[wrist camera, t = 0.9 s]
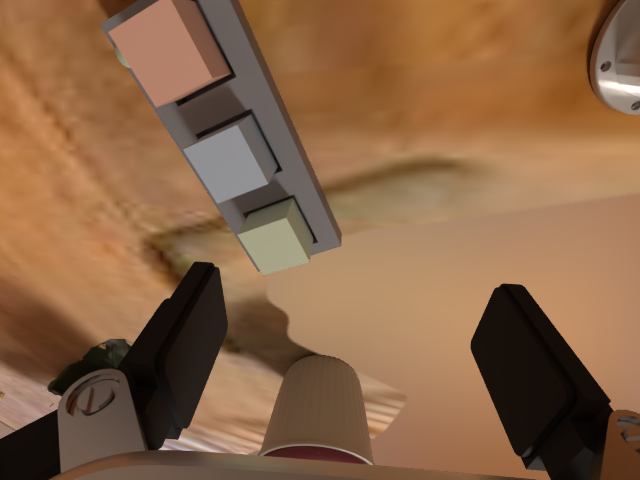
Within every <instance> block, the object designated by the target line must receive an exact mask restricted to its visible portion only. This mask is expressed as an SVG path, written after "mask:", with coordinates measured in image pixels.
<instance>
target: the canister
mask: <svg viewBox="0 0 640 480" xmlns="http://www.w3.org/2000/svg"><path fill="white" fill-rule="evenodd" d="M257 456H270V457H282V458H295V459H307V460H320V461H332V462H343V463H355V464H367V465H375V464H374V462H373V456H372V449H371V443H370V437H369V431H368V424H367V418H366V412H365V406H364V401H363V396H362V391H361V386H360V382H359V379H358V377H357V374H356V373H355V371H354V370H353V369H352V367H350V366H349V365H348V364H347V363H345V362H344V361H342V360H340V359H337V358H335V357H331V356H325V355H313V356H308V357H304V358H302V359H299V360H298V361H296V362H295V363H294V364H293V365H292V366H291V367H290V368H289V369H288V371H287V372H286V374H285V377H284V379H283V382H282V384H281V387H280V390H279V393H278V396H277V399H276V402H275V405H274V409H273V412H272V415H271V418H270V422H269V425H268V428H267V431H266V434H265V438H264V441H263V444H262V448H261V451H260V452H259V453H258V454H257Z"/></svg>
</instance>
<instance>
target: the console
mask: <svg viewBox="0 0 640 480" xmlns="http://www.w3.org/2000/svg"><path fill="white" fill-rule="evenodd" d="M157 1H159V0H137V1H136V2H134V3H133V4H131V5H130V6H128V7H127V8H125V9H123V10H122V11H120V12H119V13H117V14H116V15H114V16H113V17H111V18H109V19H108V20H106V21H105V22H103V23H102V24H100V26H101V28H102V29H103V31H104V32H105V34H106V35H107V37H108V38H109V40H110V42H111V43H112V45H113V46H114V48H115V53H116V56H117V58H118V60H119V61H120V62H121V63H122V64H123V65H124V66H126V67H127V68H128V70H129V71H130V73H131V74H132V76H133V77H134V79H135V80H136V82H137V84H138V85H139V87H140V88H141V90H142V91H143V93H144V94H145V96H146V98H147V99H148V101H149V102H150V104H151V105H152V107H153V108H154V110H155V112H156V113H157V115H158V116H159V118H160V119H161V121H162V123H163V124H164V126H165V127H166V129H167V130H168V132H169V133H170V135H171V137H172V138H173V140H174V141H175V143H176V144H177V146H178V147H179V149H180V151H181V152H182V154H183V155H184V157H185V158H186V160H187V161H188V163H189V165H190V166H191V168H192V169H193V171H194V172H195V174H196V175H197V177H198V179H199V180H200V182H201V183H202V185H203V186H204V188H205V189H206V191H207V193H208V194H209V196H210V197H211V199H212V200H213V202H214V203H215V205H216V207H217V208H218V210H219V211H220V213H221V214H222V216H223V217H224V219H225V221H226V222H227V224H228V225H229V227H230V228H231V230H232V231H233V233H234V235H235V236H236V238H237V239H238V241H239V242H240V244H241V246H242V247H243V249H244V250H245V252H246V253H247V255H248V256H249V258H250V260H251V261H252V263H253V264H254V266H255V267H256V269H257V270H258V272H259V271H260V270H259V268H258V267H257V265H256V264H255V262H254V260H253V259H252V257H251V256H250V254H249V253H248V251H247V249H246V248H245V246H244V245H243V243H242V242H241V240H240V238H239V237H238V235H237V234H238V233H239V231H240V229H241V227H242V226H243V224H244V222H245V220H246V219H247V217H248V215H249V214H250V213H253V212H255V211H258V210H261V209H264V208H266V207H269V206H272V205H274V204H277V203H280V202H283V201H285V200H288V199H291V198H294V200H295V202H296V204H297V206H298V208H299V210H300V212H301V214H302V216H303V218H304V220H305V222H306V224H307V226H308V228H309V230H310V232H311V234H312V236H313V244H312V250H311V255H314V254H317V253H320V252H323V251H326V250H330V249H333V248H336V247H340V246H341V231H340V229H339V227H338V225H337V222H336V220H335V218H334V216H333V213H332V211H331V209H330V207H329V204H328V202H327V200H326V198H325V195H324V193H323V191H322V189H321V186H320V184H319V182H318V179H317V177H316V175H315V173H314V170H313V168H312V166H311V164H310V161H309V159H308V157H307V155H306V152H305V150H304V148H303V146H302V143H301V141H300V139H299V137H298V134H297V132H296V130H295V127H294V125H293V123H292V121H291V118H290V116H289V114H288V112H287V109H286V107H285V105H284V103H283V100H282V98H281V96H280V94H279V91H278V89H277V87H276V84H275V82H274V80H273V78H272V75H271V73H270V71H269V69H268V66H267V64H266V62H265V60H264V57H263V55H262V53H261V51H260V48H259V46H258V44H257V42H256V39H255V37H254V35H253V32H252V30H251V28H250V26H249V23H248V21H247V19H246V17H245V14H244V12H243V10H242V8H241V5H240V3H239V1H238V0H190V1H194V2H196V4H197V6H198V8H199V10H200V12H201V14H202V16H203V18H204V20H205V22H206V24H207V26H208V28H209V30H210V32H211V34H212V36H213V38H214V40H215V42H216V44H217V46H218V48H219V50H220V52H221V54H222V56H223V58H224V60H225V62H226V64H227V66H228V68H229V70H230V72H231V74H229V75H227V76H225V77H223V78H221V79H219V80H217V81H215V82H213V83H211V84H209V85H207V86H205V87H203V88H201V89H200V90H198V91H196V92H194V93H192V94H190V95H188V96H186V97H184V98H182V99H179V100H177V101H174V102H171V103H168V104H165V105H162V106H159V107H155V105H154V104H153V102H152V100H151V99H150V97H149V96H148V94H147V93H146V91H145V89H144V88H143V86H142V85H141V83H140V82H139V80H138V78H137V77H136V75H135V74H134V72H133V71H132V69H131V67H130V66H129V64H128V63H127V61H126V60H125V58H124V56H123V55H122V53H121V52H120V50H119V49H118V47H117V45H116V44H115V42H114V41H113V39H112V38H111V36H110V35H109V33H108V32H109V31H111V30H113V29H114V28H116V27H117V26H119V25H121V24H122V23H124V22H125V21H127V20H128V19H130V18H132V17H133V16H135V15H136V14H138V13H140V12H141V11H143V10H144V9H146V8H148V7H149V6H151V5H152V4H154V3H155V2H157ZM250 114H252V116H253V118H254V120H255V122H256V124H257V126H258V128H259V130H260V132H261V134H262V136H263V138H264V140H265V142H266V144H267V146H268V148H269V150H270V152H271V154H272V156H273V158H274V160H275V162H276V164H277V166H278V167H277V169H276V171H275V173H274V175H273V177H272V178H271V180H270V182H269V184H267V185H264V186H262V187H259V188H257V189H254V190H252V191H249V192H246V193H244V194H241V195H239V196H236V197H234V198H231V199H228V200H226V201H223V202H221V203H218V204H217V202H216V201H215V199H214V198H213V196H212V195H211V193H210V191H209V190H208V188H207V187H206V185H205V184H204V182H203V180H202V179H201V177H200V176H199V174H198V173H197V171H196V169H195V168H194V166H193V165H192V163H191V162H190V160H189V158H188V157H187V155H186V154H185V152H184V151H183V149H185V148H186V147H188V146H189V145H191V144H192V143H194V142H195V141H197V140H198V139H200V138H201V137H203V136H205V135H207V134H209V133H211V132H214V131H216V130H218V129H220V128H222V127H224V126H227V125H229V124H231V123H233V122H235V121H237V120H240V119H242V118H244V117H246V116H248V115H250Z"/></svg>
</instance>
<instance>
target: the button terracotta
mask: <svg viewBox="0 0 640 480" xmlns="http://www.w3.org/2000/svg"><path fill="white" fill-rule="evenodd" d="M108 33H109V35H110V36H111V38H112V39H113V41H114V42H115V44H116V45H117V47H118V49H119V50H120V52H121V53H122V55H123V56H124V58H125V60H126V61H127V63H128V64H129V66H130V67H131V69H132V71H133V72H134V74H135V75H136V77H137V78H138V80H139V82H140V83H141V85H142V86H143V88H144V89H145V91H146V93H147V94H148V96H149V97H150V99H151V100H152V102H153V104H154V105H155V107H159V106H162V105H165V104H168V103H171V102H174V101H177V100H179V99H182V98H184V97H186V96H188V95H190V94H192V93H194V92H196V91H198V90H200V89H201V88H203V87H205V86H207V85H209V84H211V83H213V82H215V81H217V80H219V79H221V78H223V77H225V76H227V75H229V74H231V72H230V70H229V68H228V66H227V64H226V62H225V60H224V58H223V56H222V54H221V52H220V50H219V48H218V46H217V44H216V42H215V40H214V38H213V36H212V34H211V32H210V30H209V28H208V26H207V24H206V22H205V20H204V18H203V16H202V14H201V12H200V10H199V8H198V6H197V4H196V2H194V1H190V0H159V1H157V2H155V3H154V4H152V5H151V6H149V7H148V8H146V9H144V10H143V11H141V12H140V13H138V14H136V15H135V16H133V17H132V18H130V19H128V20H127V21H125V22H124V23H122V24H121V25H119V26H117V27H116V28H114V29H113V30H111V31H109V32H108Z"/></svg>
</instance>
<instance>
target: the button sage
mask: <svg viewBox="0 0 640 480" xmlns="http://www.w3.org/2000/svg"><path fill="white" fill-rule="evenodd" d="M237 235H238V237H239V238H240V240H241V242H242V243H243V245H244V246H245V248H246V249H247V251H248V253H249V254H250V256H251V257H252V259H253V260H254V262H255V264H256V265H257V267H258V268H259V270H260V271H261V273H262V275H263V276H264V275H267V274H270V273H274V272H277V271H280V270H284V269H287V268H290V267H293V266H297V265H300V264H303V263H307V262H310V256H311V250H312V244H313V236H312V234H311V232H310V230H309V228H308V226H307V224H306V222H305V220H304V218H303V216H302V214H301V212H300V210H299V208H298V206H297V204H296V202H295V200H294V198H291V199H288V200H285V201H283V202H280V203H277V204H274V205H272V206H269V207H266V208H264V209H261V210H258V211H255V212H253V213H250V214H249V215H248V217H247V219H246V220H245V222H244V224H243V226H242V227H241V229H240V231H239V233H238V234H237Z"/></svg>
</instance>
